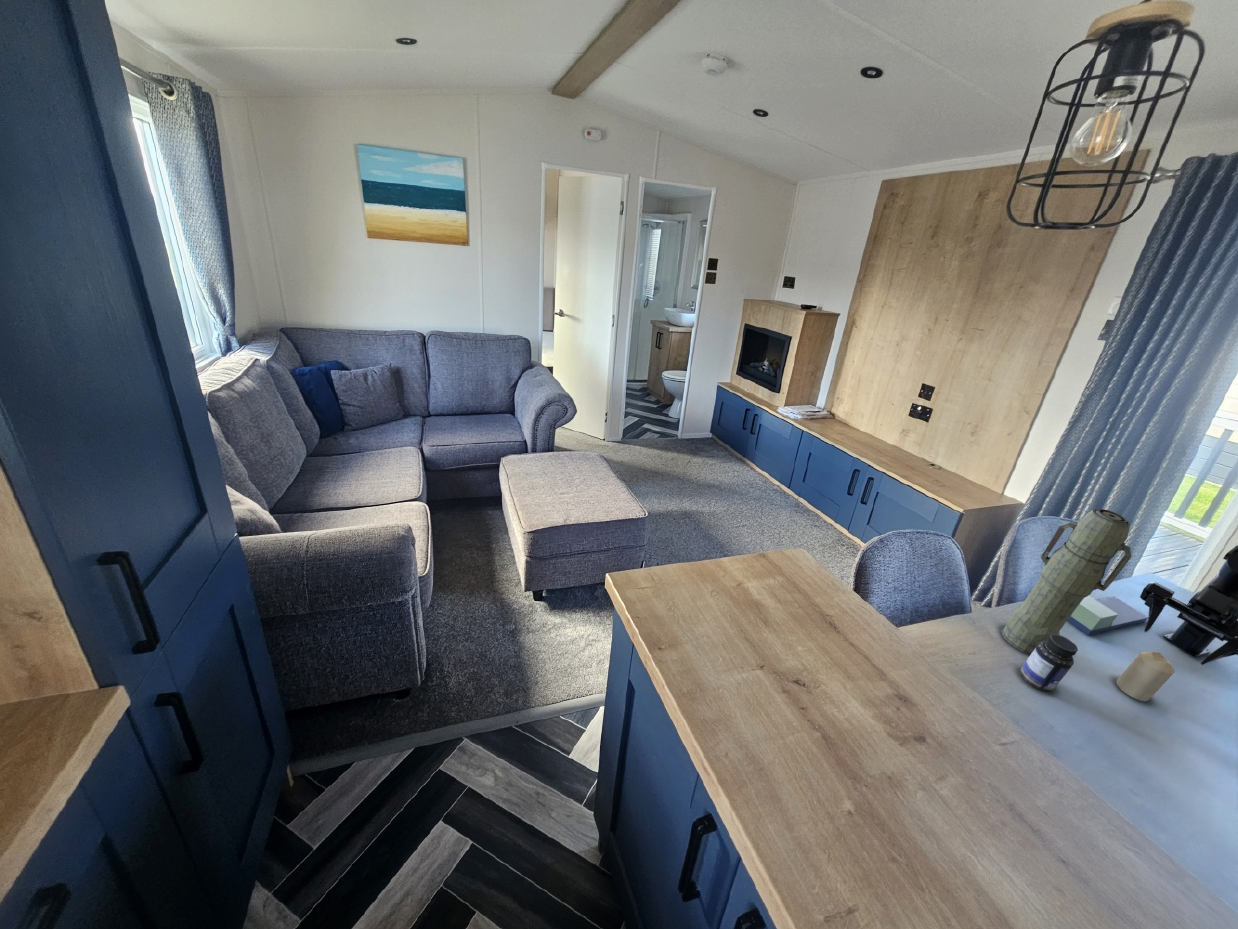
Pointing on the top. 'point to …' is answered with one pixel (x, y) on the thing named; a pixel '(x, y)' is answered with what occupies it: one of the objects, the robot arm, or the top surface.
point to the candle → (1145, 675)
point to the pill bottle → (1049, 662)
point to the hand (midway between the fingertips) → (1172, 647)
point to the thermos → (1068, 577)
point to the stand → (1104, 615)
